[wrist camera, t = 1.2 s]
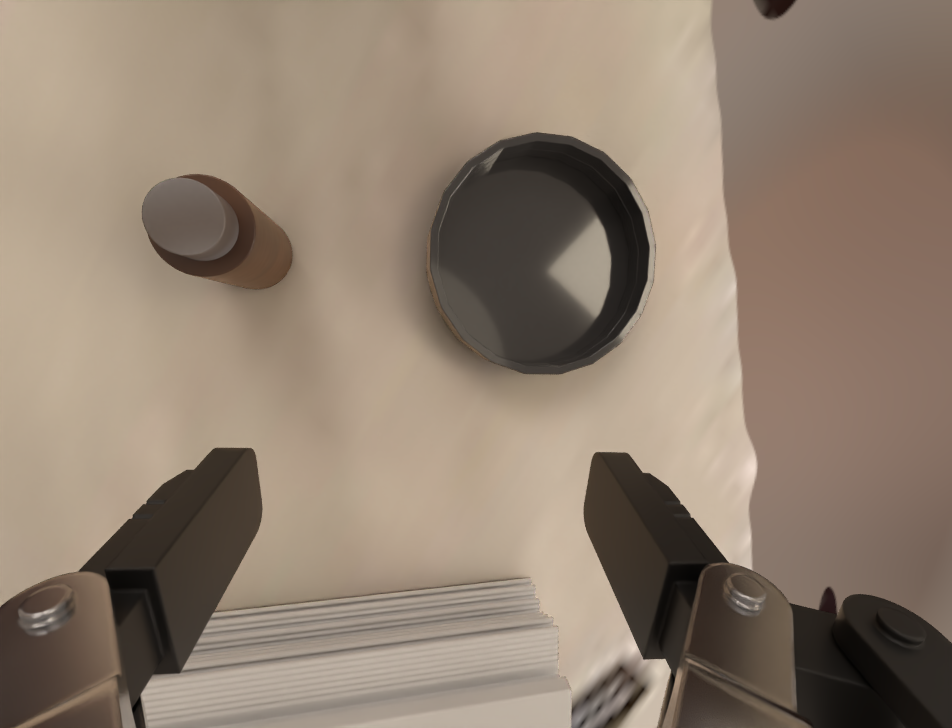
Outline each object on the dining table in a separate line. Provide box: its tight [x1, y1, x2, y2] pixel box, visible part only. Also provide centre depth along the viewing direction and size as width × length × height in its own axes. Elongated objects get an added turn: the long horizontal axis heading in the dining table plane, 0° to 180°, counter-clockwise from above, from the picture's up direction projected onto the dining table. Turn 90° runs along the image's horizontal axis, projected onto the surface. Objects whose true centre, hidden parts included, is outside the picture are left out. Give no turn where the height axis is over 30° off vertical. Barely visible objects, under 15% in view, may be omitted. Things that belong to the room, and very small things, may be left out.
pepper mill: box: [142, 174, 292, 289], centre depth 26 cm, size 5×5×11 cm
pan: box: [426, 132, 656, 374], centre depth 34 cm, size 17×17×4 cm
